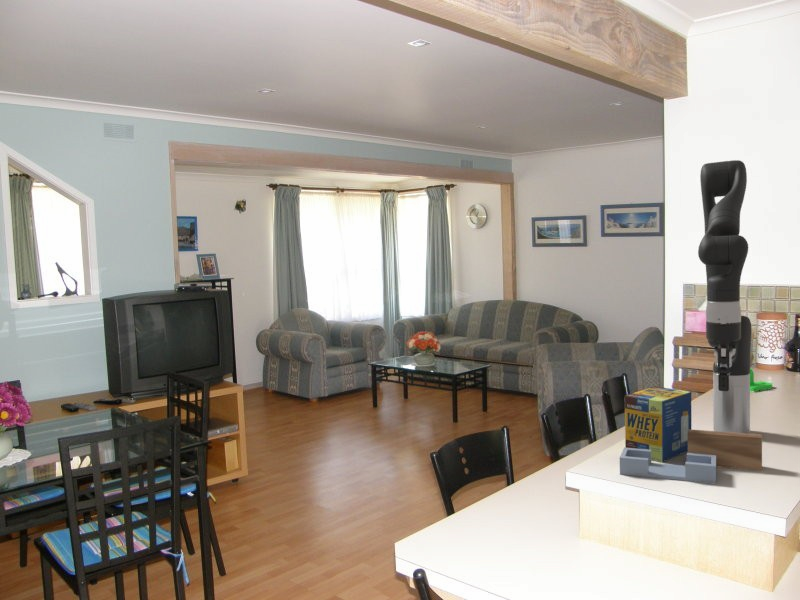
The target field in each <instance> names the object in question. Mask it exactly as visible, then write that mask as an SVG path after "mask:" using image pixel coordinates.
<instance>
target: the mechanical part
mask: <svg viewBox="0 0 800 600" xmlns="http://www.w3.org/2000/svg"><path fill="white" fill-rule="evenodd" d="M754 375H755V374H754V371H753V370H752V368H750V391H757V392H760V391H759V390H762V391H765V390H764V389H768V390H770V389H769V388H772V389H773V383H771V382H767V381H761V380H760V381H754V378H755V377H754Z"/></svg>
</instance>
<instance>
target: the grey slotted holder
mask: <svg viewBox="0 0 800 600" xmlns="http://www.w3.org/2000/svg"><path fill="white" fill-rule="evenodd" d="M684 463H685V464H684V465H682V464H681V465H680V464H671V463H670V464H669V463H661V462H660V463H658V462H652V460H651V450H647V449H636V448H625V447H623V449H622V451H621V454H620V455H619V475H624V476H625V475H627V476H634V477H644V478H646V477H647V478H654V479H664V480H676V481H684V482H685V481H686V482H695V483H704V484H705V483H707V484H717V466H716V455H706V454H695V453H688V452H686V461H685V462H684Z"/></svg>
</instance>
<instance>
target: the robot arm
mask: <svg viewBox="0 0 800 600" xmlns="http://www.w3.org/2000/svg"><path fill="white" fill-rule="evenodd" d="M699 177H700V190H701V192H700V193H701V200H702V208H703V209H702V210H703V220H704V235H703V237H702V238H701V241H700V243H699V246H698V252H697V254H698V258H699V261H700V262H701V263H702V264H704V265H705V273H706V308H705V338H706V339H707V343H708V344H709V346H710V347H711V348H714V349H713V351H714V353H713V354H714V357H715V361H714V363H713V364H712V377H713V379H712V383H713V384H712V387H713V391H712V392H713V393H712V397H713V400H712V401H713V404H712V405H713V418H712V419H713V431H719V432H733V433H747V434H751V392H750V369H751V351H752V350H751V346H752V345H751V344H752V322H751V319H750V318H749V317H748V316H746V315H742V310H741V302H740V301H741V299H740V298H741V295H740V293H741V290H740V287H741V277H742V273H743V269H744V265H745V262H746V260H747V256H748V253H749V244H748V241H747V239H746V238H745V237H744V236H742V235H740V232H741V231H740V229H741V210H742V207H743V203H744V199H745V196H746V190H747V184H748V183H747V181H748V177H747V168H746V165H745V163H744V162H743V161H742V160H739V159H738V160H736V159H735V160H725V161H717V162H716V161H715V162H707V163H704V164H703V165H702V166H701V169H700V175H699ZM718 197H722V198H721V199H720V200H718V202H716V199H715V198H718ZM734 349H735V353H733V352H734V351H733V350H734Z"/></svg>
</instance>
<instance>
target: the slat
mask: <svg viewBox="0 0 800 600" xmlns="http://www.w3.org/2000/svg"><path fill="white" fill-rule="evenodd" d="M687 453H695V454H706V455H716V467H718V466H721V468H730V467H733V468H732V469H742V470H743V469H744V470H755V471H756V470H758V471H763V436H762V433H761V434H757V433H750V434H747V433H733V432H719V431H714V430H704V429H703V430H702V429H692V428H691V429H688V451H687Z"/></svg>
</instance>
